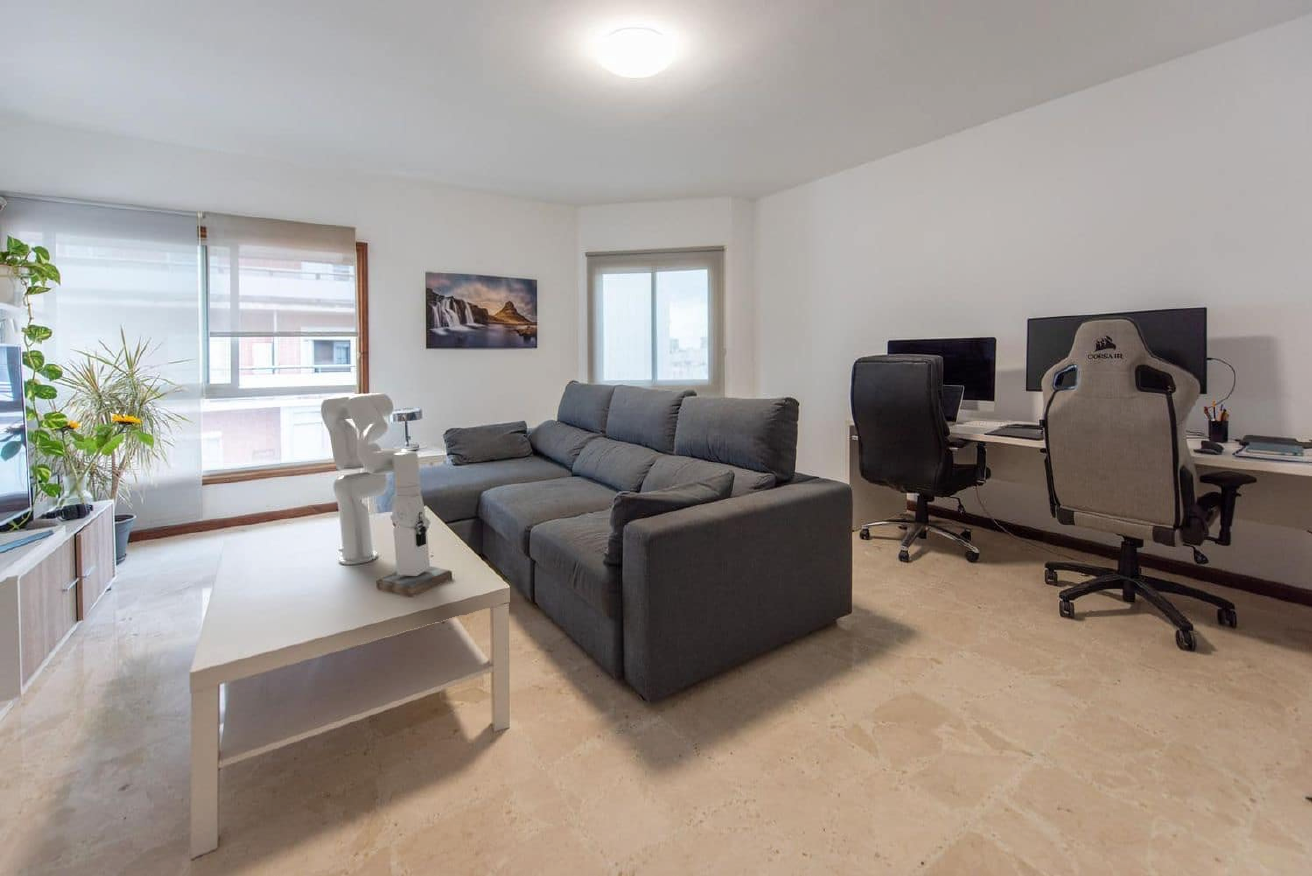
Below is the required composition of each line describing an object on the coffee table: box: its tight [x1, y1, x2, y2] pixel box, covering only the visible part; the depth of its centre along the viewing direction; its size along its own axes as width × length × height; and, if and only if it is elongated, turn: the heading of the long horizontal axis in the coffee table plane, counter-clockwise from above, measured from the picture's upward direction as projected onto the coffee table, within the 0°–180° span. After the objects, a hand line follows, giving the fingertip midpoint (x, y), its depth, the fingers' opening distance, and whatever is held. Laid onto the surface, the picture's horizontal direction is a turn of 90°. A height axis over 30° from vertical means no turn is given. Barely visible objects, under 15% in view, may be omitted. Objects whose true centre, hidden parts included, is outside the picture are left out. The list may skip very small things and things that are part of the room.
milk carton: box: [393, 524, 431, 576], centre depth 182 cm, size 7×7×19 cm
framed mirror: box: [375, 566, 453, 598], centre depth 184 cm, size 16×16×3 cm
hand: (411, 543), depth 182 cm, fingers closed on milk carton, 8 cm apart
